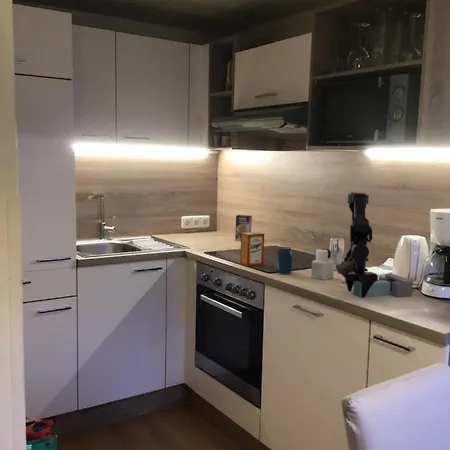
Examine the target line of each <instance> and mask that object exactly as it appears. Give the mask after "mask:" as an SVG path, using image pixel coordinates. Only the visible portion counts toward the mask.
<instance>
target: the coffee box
mask: <svg viewBox="0 0 450 450" xmlns="http://www.w3.org/2000/svg"><path fill="white" fill-rule="evenodd" d="M252 221H253V215H247V214H236V215H235V234H234V235H235V237H234V241H237V242H241V233H249V232H252Z"/></svg>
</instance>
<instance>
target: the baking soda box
mask: <svg viewBox="0 0 450 450" xmlns="http://www.w3.org/2000/svg"><path fill="white" fill-rule="evenodd" d="M264 248H265V233H263V232H259V231H251V232H249V233H241V241H240V256H239V257H240V258H239V259H240V260H239V261H240V263H239V264H240V265H241V266H245V265H246V266H245V267H252V266H251V265H256V266H261V265H260V264H263V265H264V256H265V254H264V252H265V249H264Z"/></svg>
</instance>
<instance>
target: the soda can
mask: <svg viewBox="0 0 450 450" xmlns="http://www.w3.org/2000/svg"><path fill="white" fill-rule="evenodd" d="M292 264H293V251H292V247H290V246H278V249H277V253H276V269H275V270H276V272H277V274H279V273H280V274H279V275H289V274H291V273H292V269H293V267H292V266H293V265H292Z"/></svg>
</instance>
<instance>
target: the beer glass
mask: <svg viewBox="0 0 450 450" xmlns="http://www.w3.org/2000/svg"><path fill="white" fill-rule="evenodd" d="M329 250H330V251H331V259H330V260H332V261H334V272H335V271H337V272H338V270H337V265H339V264H341V263H343V258H344V252H345V239H344V238H340V237H331V238H330V241H329Z"/></svg>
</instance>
